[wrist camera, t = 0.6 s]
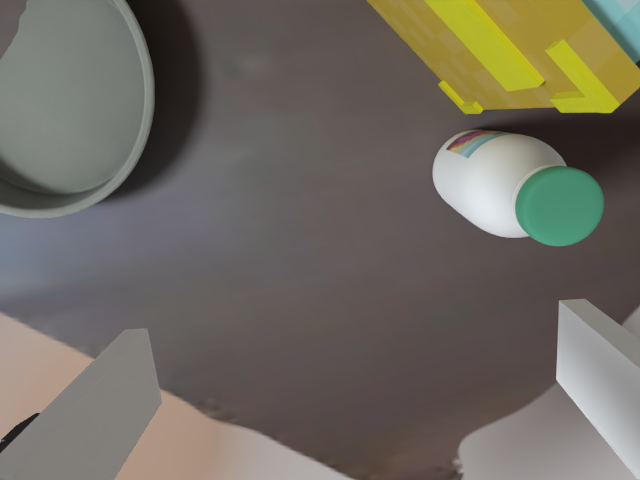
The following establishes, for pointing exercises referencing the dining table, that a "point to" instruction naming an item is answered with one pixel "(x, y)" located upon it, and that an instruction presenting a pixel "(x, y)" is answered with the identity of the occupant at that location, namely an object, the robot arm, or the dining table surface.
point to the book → (525, 50)
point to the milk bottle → (517, 187)
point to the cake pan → (72, 106)
